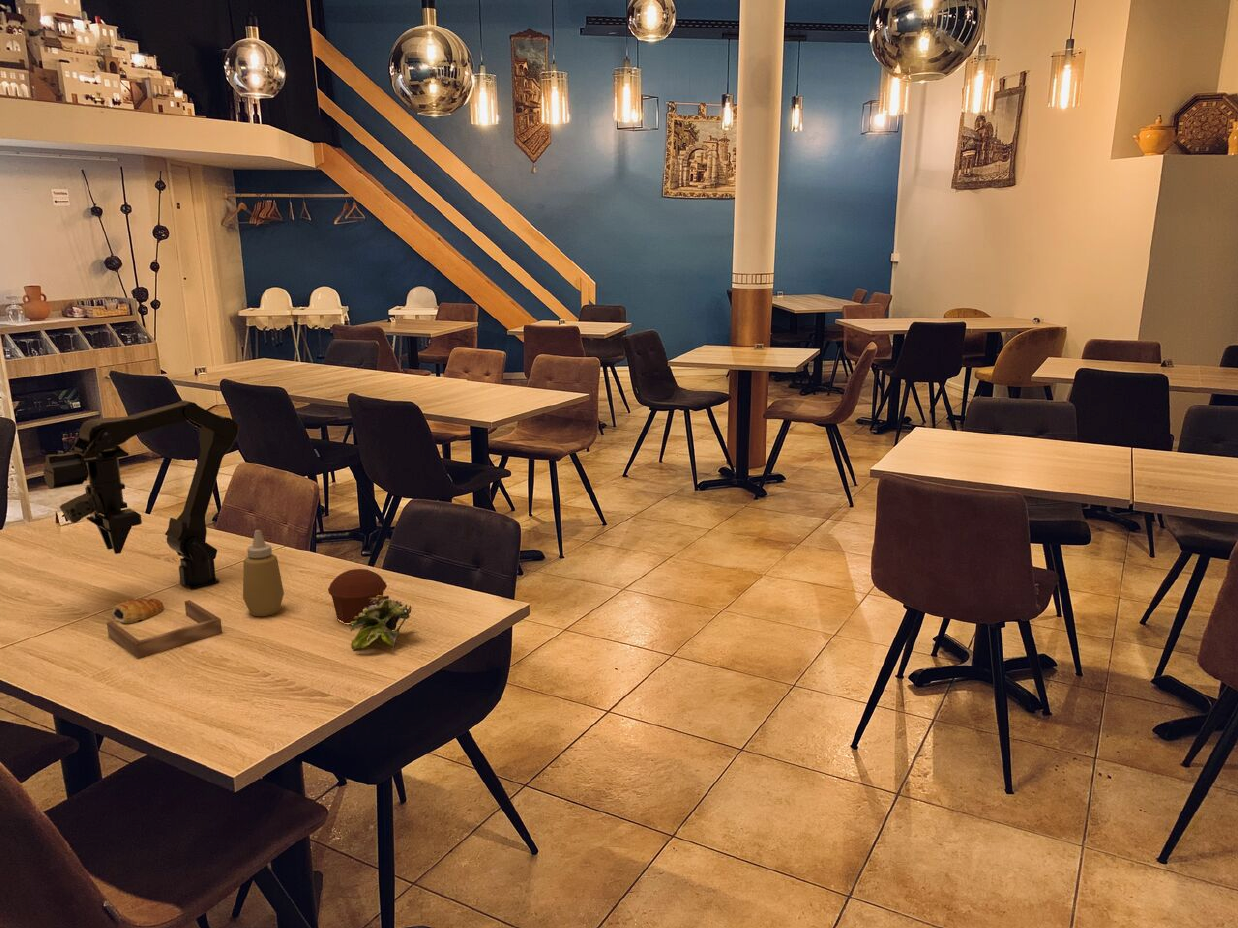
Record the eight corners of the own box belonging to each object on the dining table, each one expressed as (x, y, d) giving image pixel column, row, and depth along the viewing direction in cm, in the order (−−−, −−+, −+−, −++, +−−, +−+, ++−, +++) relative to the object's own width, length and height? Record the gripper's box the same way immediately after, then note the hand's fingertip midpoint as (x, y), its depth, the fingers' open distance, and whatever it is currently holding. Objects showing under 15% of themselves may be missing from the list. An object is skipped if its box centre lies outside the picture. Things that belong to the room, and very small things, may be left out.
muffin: (390, 605, 194) (388, 561, 192) (386, 626, 183) (384, 579, 181) (333, 608, 192) (330, 564, 190) (326, 629, 181) (322, 583, 179)
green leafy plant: (382, 661, 180) (407, 605, 183) (405, 671, 171) (431, 612, 174) (332, 641, 173) (359, 584, 177) (354, 651, 165) (382, 590, 168)
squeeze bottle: (293, 608, 192) (287, 527, 188) (264, 622, 185) (257, 538, 181) (265, 602, 195) (258, 522, 191) (235, 615, 188) (227, 533, 184)
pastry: (153, 605, 194) (151, 588, 193) (171, 612, 190) (169, 595, 189) (109, 619, 186) (107, 602, 185) (127, 627, 182) (125, 610, 181)
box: (190, 613, 189) (189, 599, 188) (222, 632, 179) (220, 618, 179) (108, 636, 177) (106, 622, 177) (137, 658, 168) (135, 643, 167)
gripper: (46, 479, 187) (56, 550, 191) (78, 495, 175) (88, 571, 179) (104, 470, 195) (113, 538, 199) (138, 485, 183) (147, 557, 187)
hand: (114, 551), depth 191 cm, fingers open, 4 cm apart
